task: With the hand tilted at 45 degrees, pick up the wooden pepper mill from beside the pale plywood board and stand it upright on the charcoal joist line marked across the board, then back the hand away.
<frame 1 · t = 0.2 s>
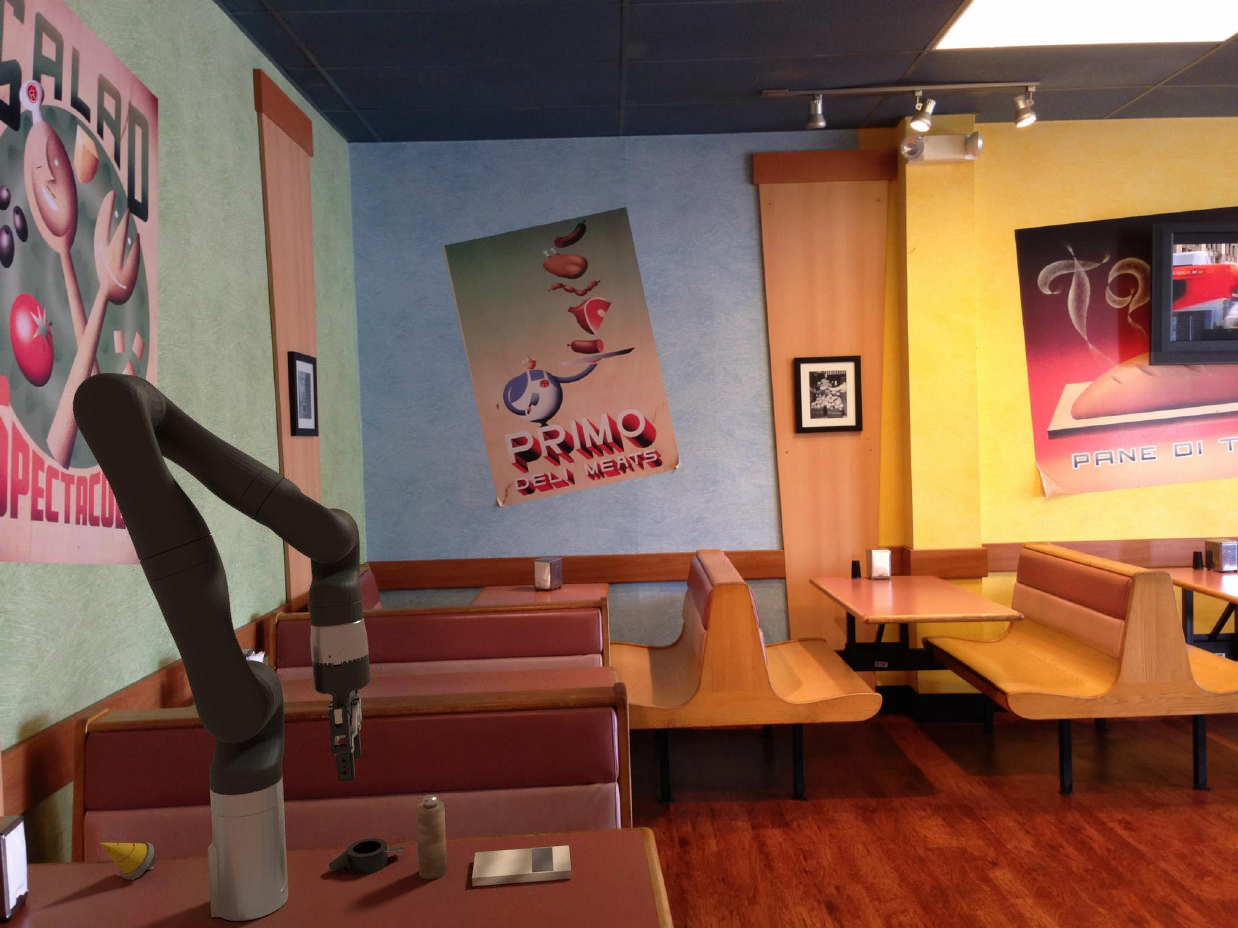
hand: (350, 769, 127), 18 cm above the table, fingers open, 8 cm apart
black winged cup: (368, 867, 137), on the table
wooden pepper mill: (433, 872, 134), on the table
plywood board: (522, 868, 134), on the table
yellow party hat: (132, 880, 134), on the table
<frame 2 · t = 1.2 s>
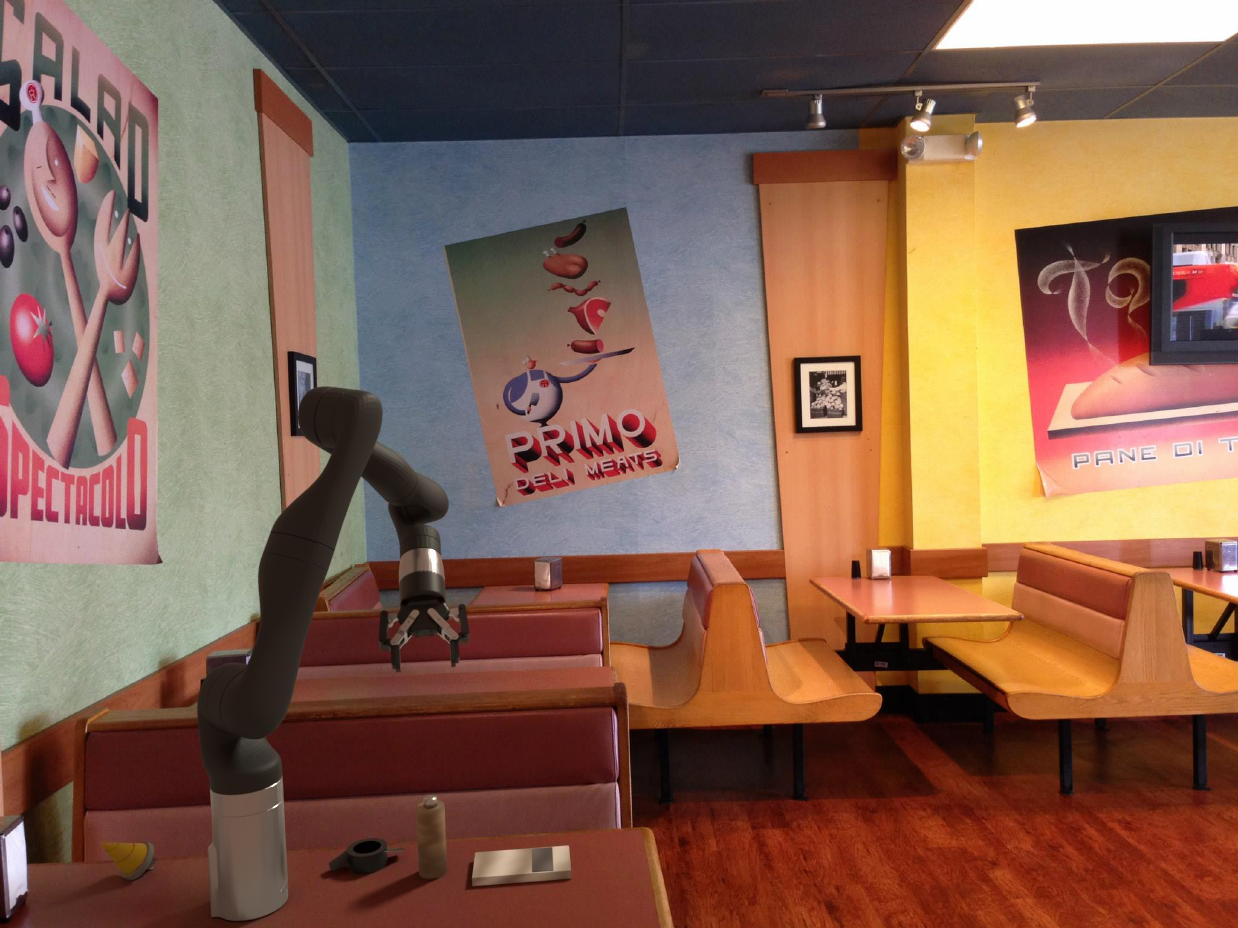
hand: (426, 667, 144), 27 cm above the table, fingers open, 8 cm apart
nothing on the table moved.
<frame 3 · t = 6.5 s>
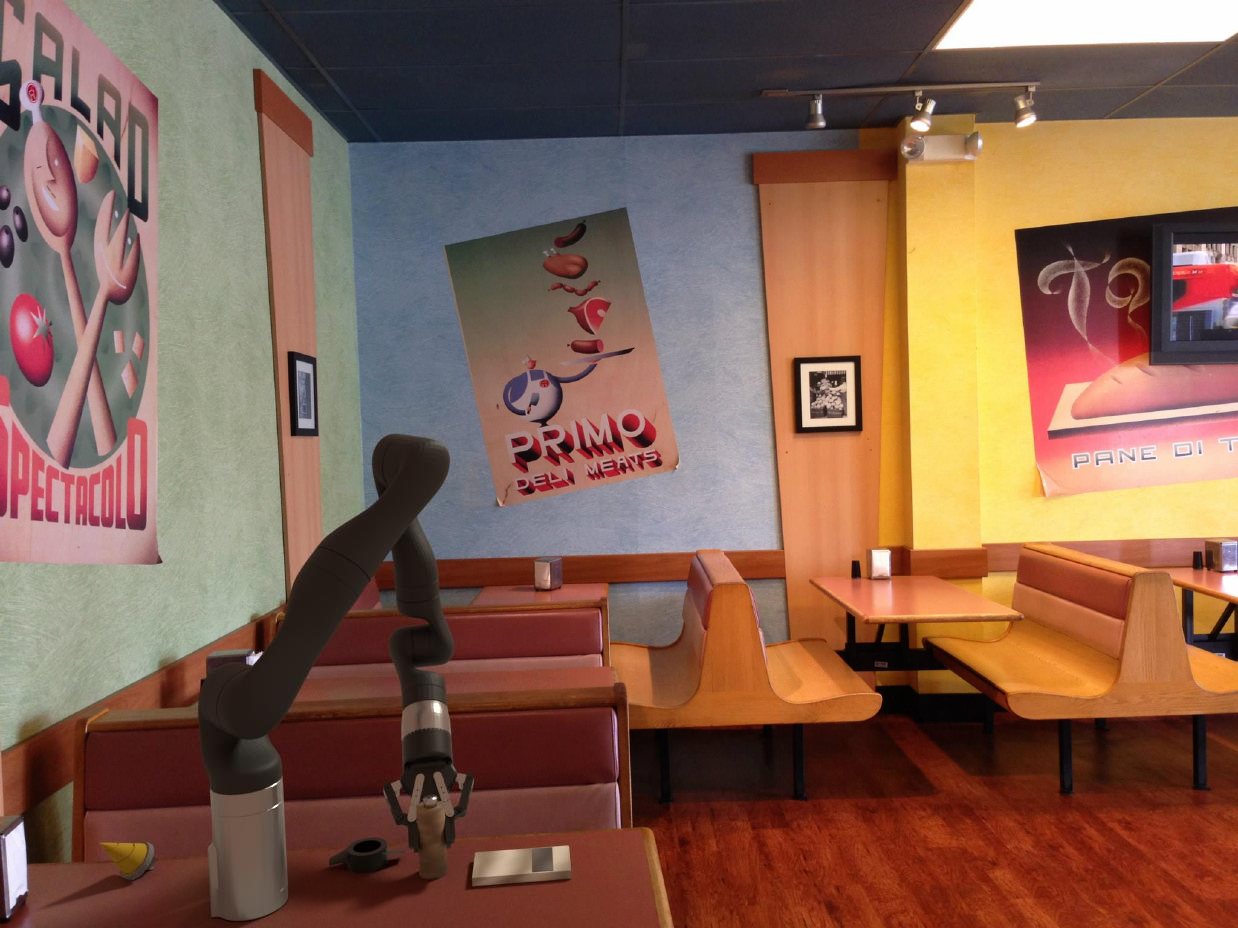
hand: (432, 847, 132), 5 cm above the table, fingers closed on wooden pepper mill, 4 cm apart
wooden pepper mill: (433, 872, 134), on the table, touching gripper
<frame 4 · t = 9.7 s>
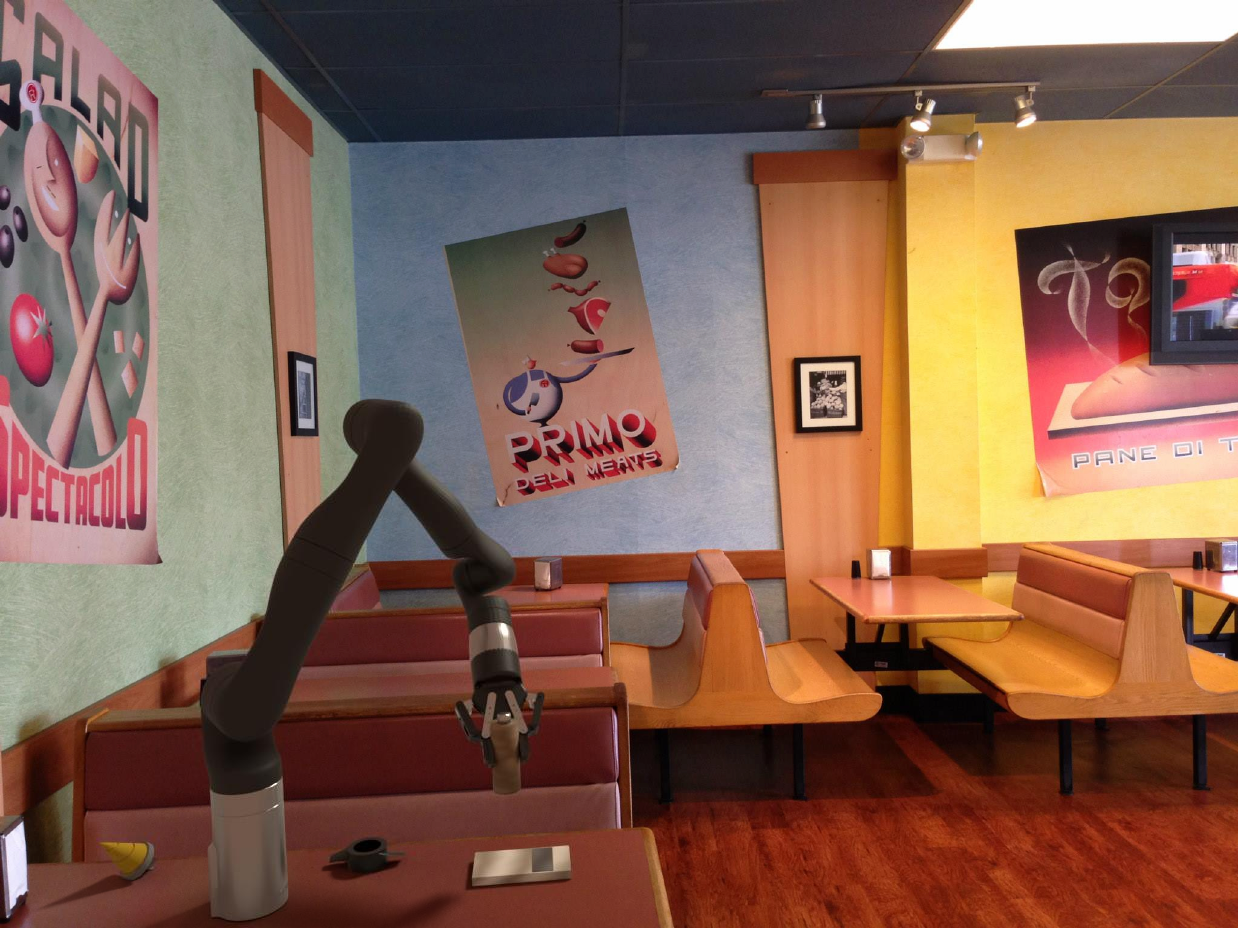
hand: (507, 763, 132), 16 cm above the table, fingers closed on wooden pepper mill, 4 cm apart
wooden pepper mill: (507, 788, 134), point 12 cm above the table, touching gripper
when the fingers open (7 cm above the table, at t = 13.0 s): wooden pepper mill drops 1 cm, resting on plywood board.
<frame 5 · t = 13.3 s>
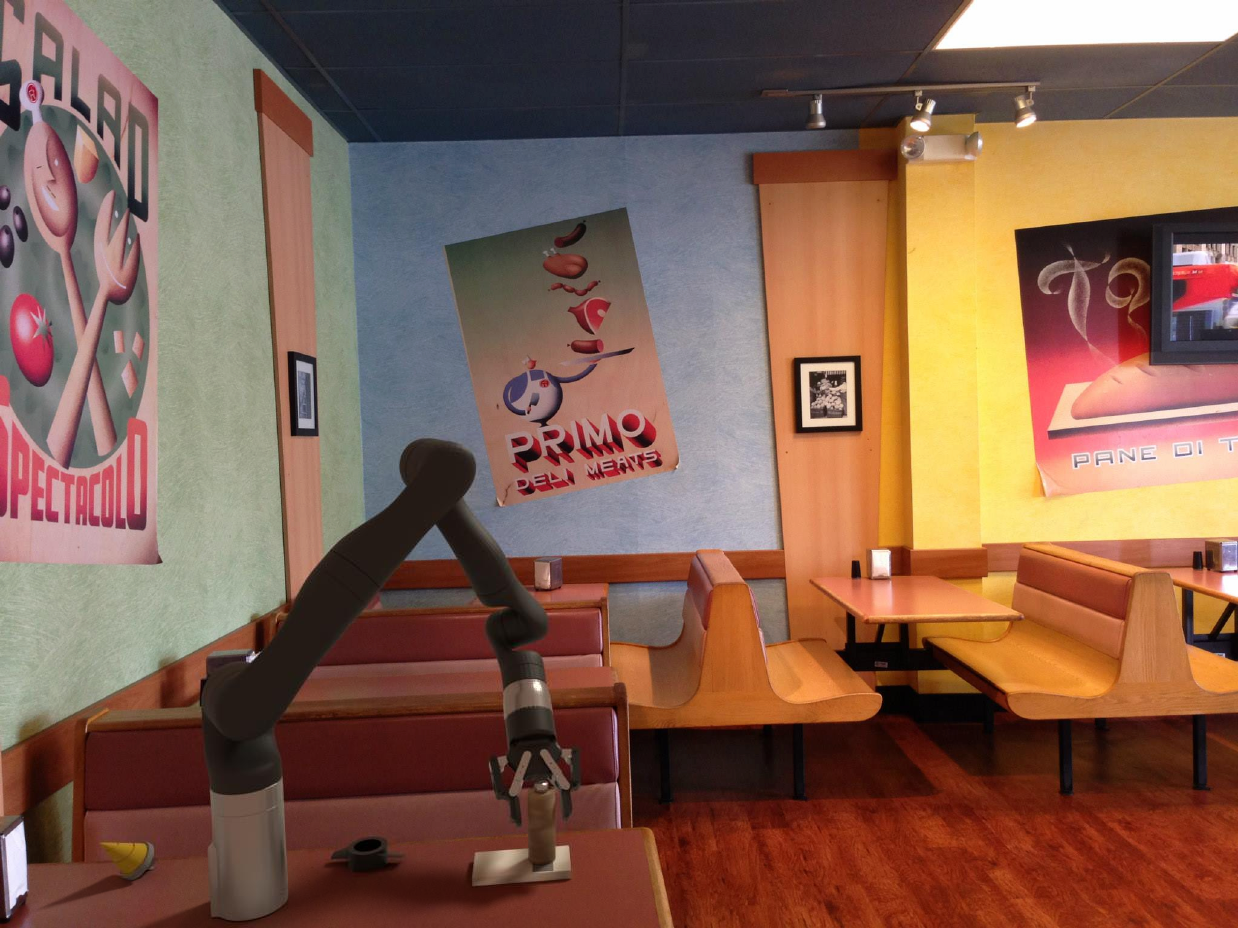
hand: (542, 821, 132), 8 cm above the table, fingers open, 6 cm apart
wooden pepper mill: (542, 857, 134), point 1 cm above the table, touching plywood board
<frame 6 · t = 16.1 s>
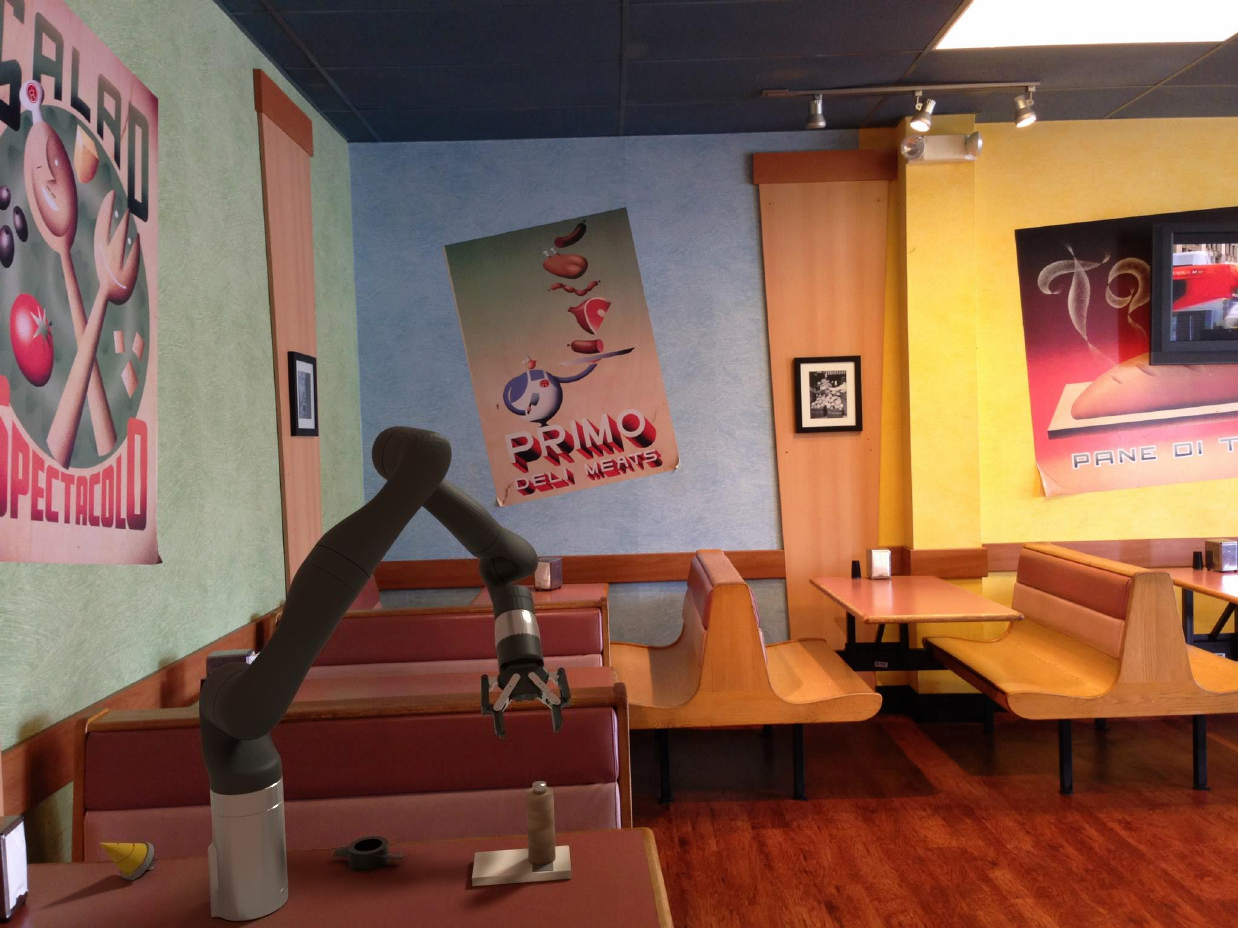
hand: (530, 733, 143), 17 cm above the table, fingers open, 8 cm apart
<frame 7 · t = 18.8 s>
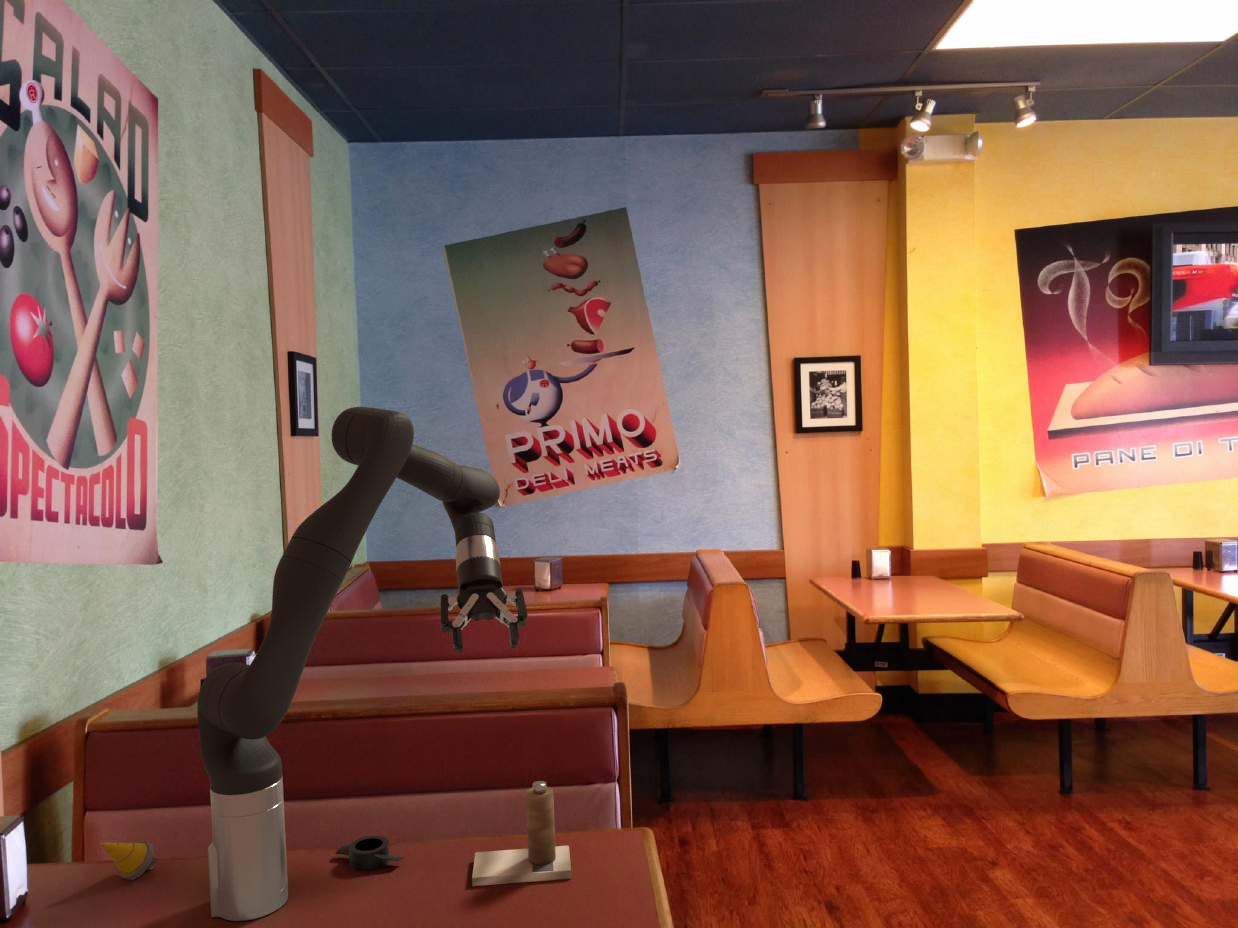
hand: (487, 648, 148), 29 cm above the table, fingers open, 8 cm apart
at the end: wooden pepper mill 0.1 cm from the target spot on the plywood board, point 1.3 cm above the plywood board's base; wooden pepper mill tilted 0°; the gripper is holding nothing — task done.
